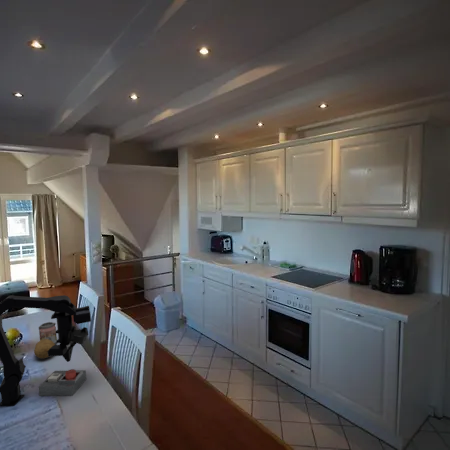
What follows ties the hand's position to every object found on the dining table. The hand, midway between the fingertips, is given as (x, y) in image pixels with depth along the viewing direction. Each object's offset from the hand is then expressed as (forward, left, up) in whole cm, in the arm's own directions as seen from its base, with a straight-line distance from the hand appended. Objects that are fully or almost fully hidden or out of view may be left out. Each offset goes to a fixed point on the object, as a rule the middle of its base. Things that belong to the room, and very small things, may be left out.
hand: (68, 361), depth 135 cm
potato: (+27, +27, -12) cm, 40 cm away
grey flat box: (0, +3, -11) cm, 12 cm away
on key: (0, +6, -11) cm, 13 cm away
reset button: (0, -1, -9) cm, 9 cm away
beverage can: (+40, +33, -12) cm, 53 cm away
